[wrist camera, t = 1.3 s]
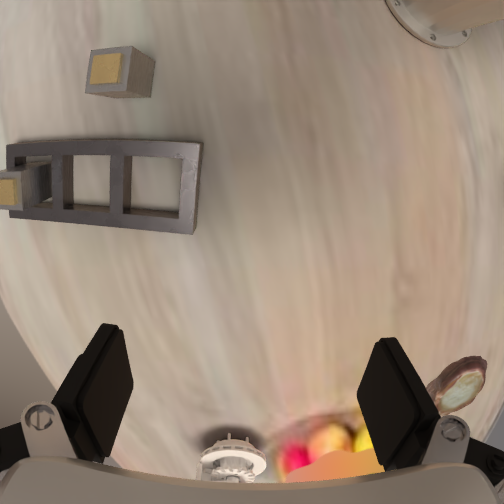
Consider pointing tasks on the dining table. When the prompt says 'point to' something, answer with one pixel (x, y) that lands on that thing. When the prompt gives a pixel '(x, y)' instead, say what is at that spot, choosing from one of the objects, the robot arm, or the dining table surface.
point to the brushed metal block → (120, 73)
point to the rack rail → (112, 183)
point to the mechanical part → (231, 462)
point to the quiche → (458, 384)
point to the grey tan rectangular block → (25, 185)
